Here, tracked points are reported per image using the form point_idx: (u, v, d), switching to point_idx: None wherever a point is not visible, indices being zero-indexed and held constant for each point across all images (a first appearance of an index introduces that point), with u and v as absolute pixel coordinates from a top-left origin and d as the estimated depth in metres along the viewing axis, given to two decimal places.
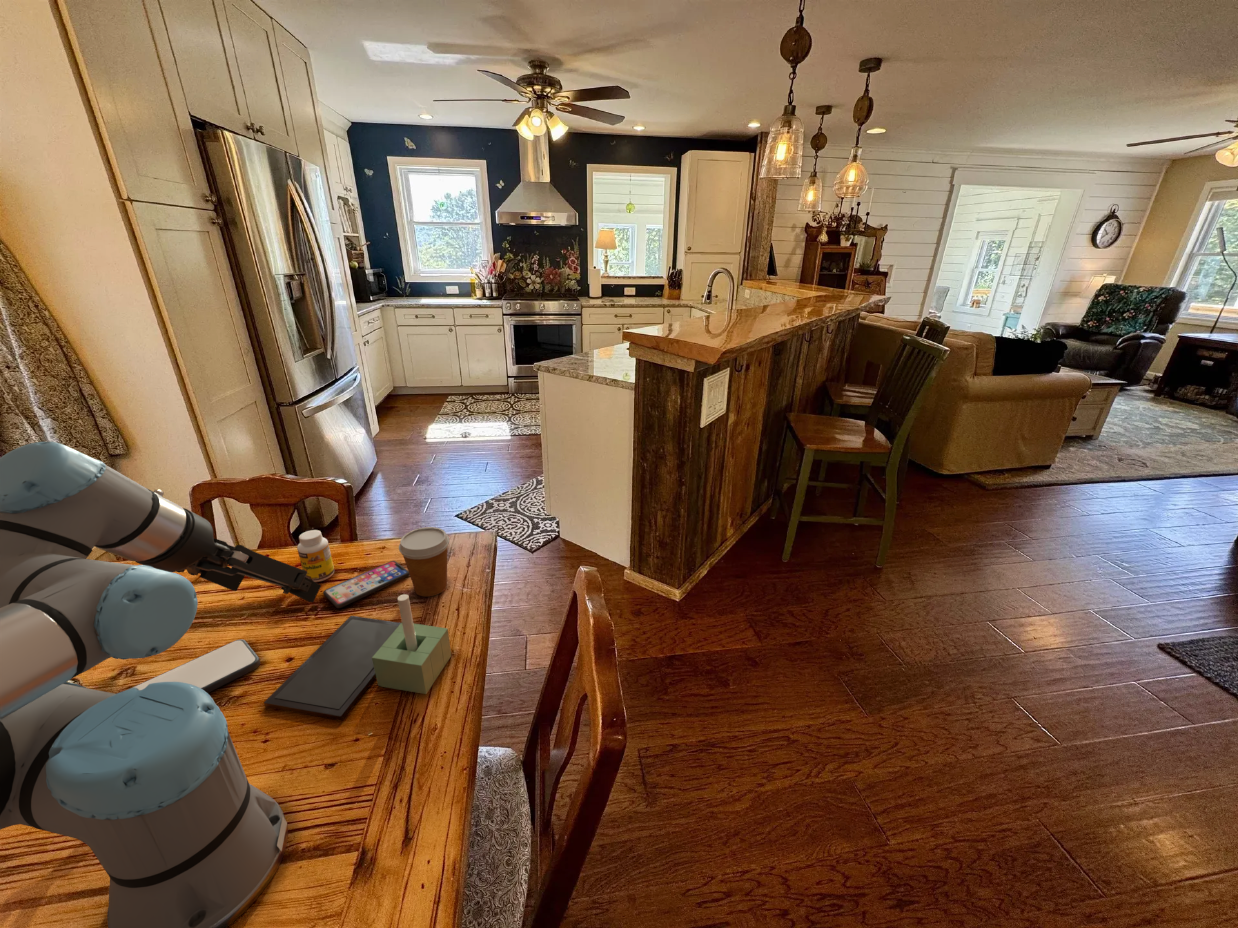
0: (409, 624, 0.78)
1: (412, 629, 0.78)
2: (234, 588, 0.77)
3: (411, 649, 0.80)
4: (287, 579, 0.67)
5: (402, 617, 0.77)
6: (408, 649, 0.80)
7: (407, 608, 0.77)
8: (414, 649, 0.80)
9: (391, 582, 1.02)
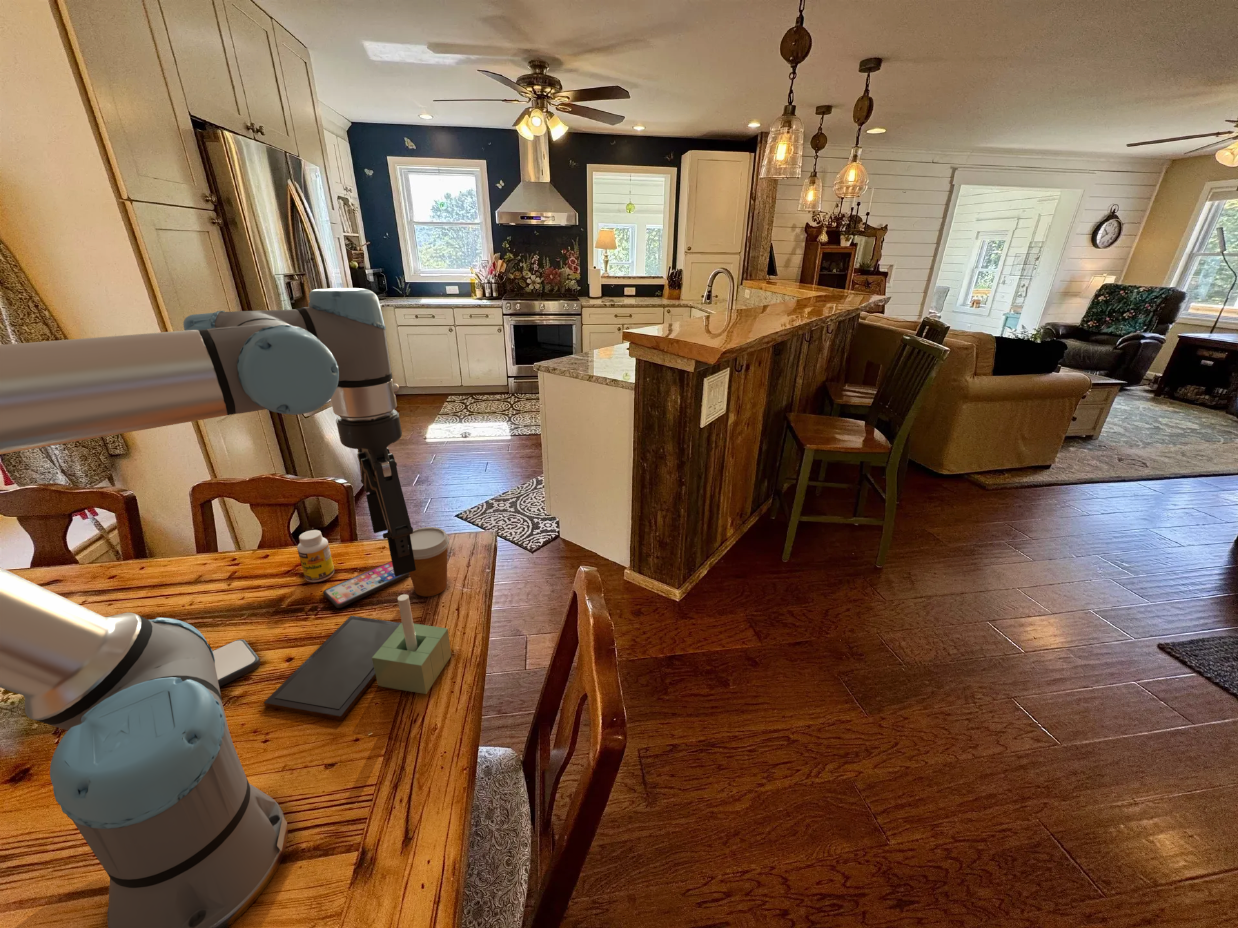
0: (409, 624, 0.78)
1: (412, 629, 0.78)
2: (375, 529, 0.77)
3: (411, 649, 0.80)
4: (393, 521, 0.62)
5: (402, 617, 0.77)
6: (408, 649, 0.80)
7: (407, 608, 0.77)
8: (414, 649, 0.80)
9: (391, 582, 1.02)
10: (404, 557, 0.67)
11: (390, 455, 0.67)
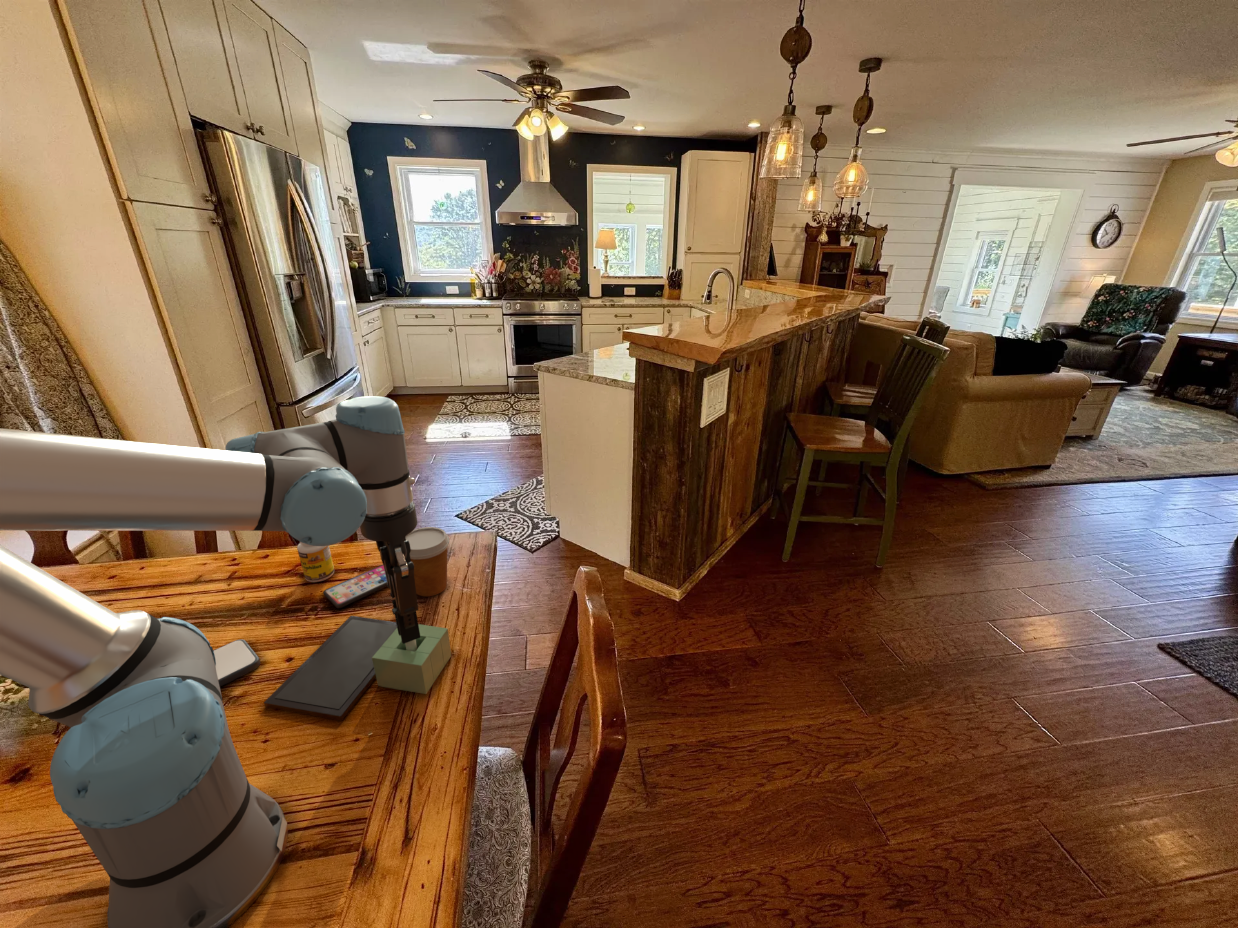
0: None
1: None
2: (399, 632, 0.79)
3: (410, 649, 0.79)
4: (404, 605, 0.72)
5: None
6: (407, 649, 0.79)
7: None
8: (413, 649, 0.80)
9: None
10: (410, 627, 0.77)
11: (407, 544, 0.72)
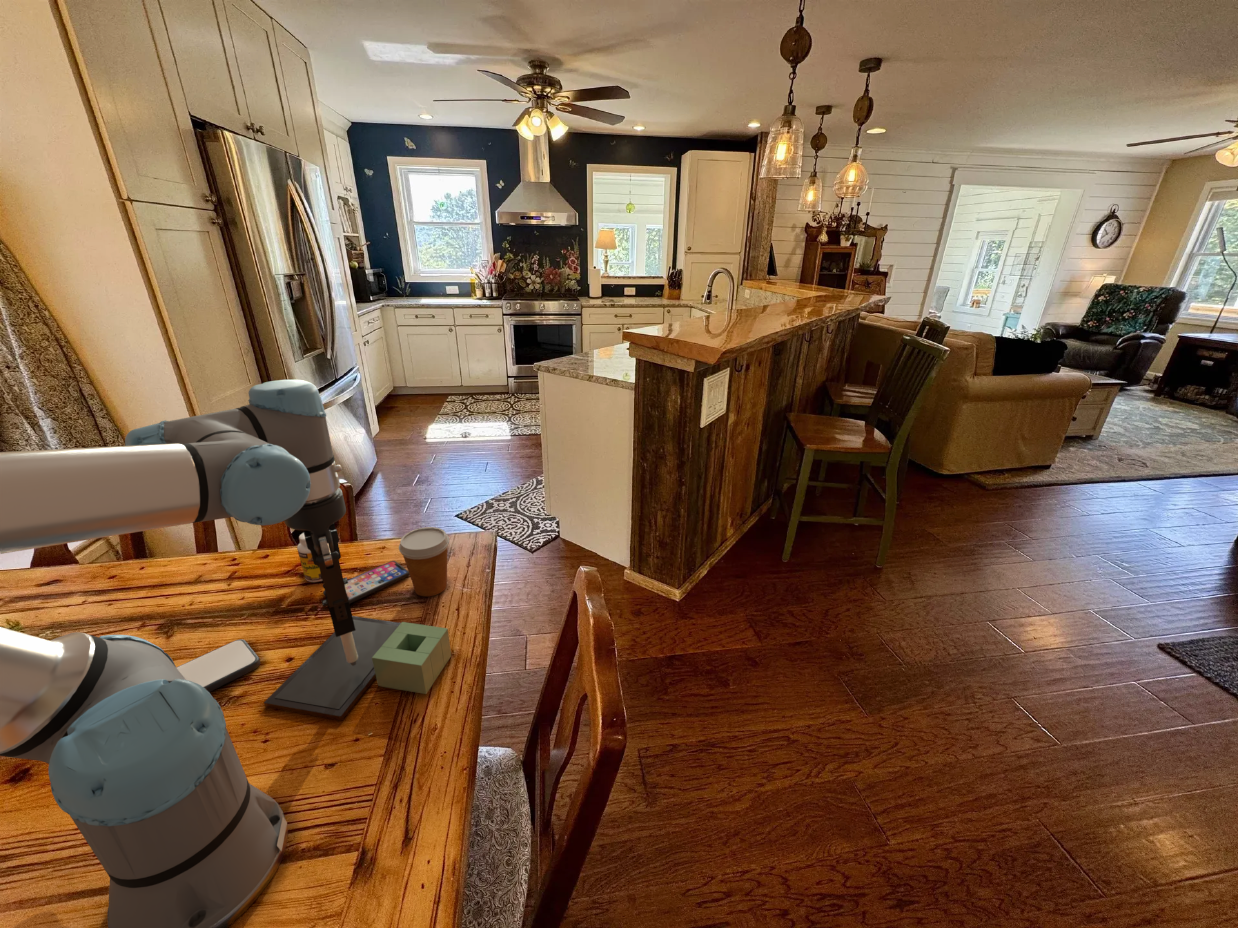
0: None
1: None
2: None
3: (346, 642, 0.77)
4: (331, 597, 0.69)
5: None
6: (343, 642, 0.77)
7: None
8: (349, 642, 0.77)
9: (391, 582, 1.02)
10: (344, 620, 0.75)
11: (334, 534, 0.70)
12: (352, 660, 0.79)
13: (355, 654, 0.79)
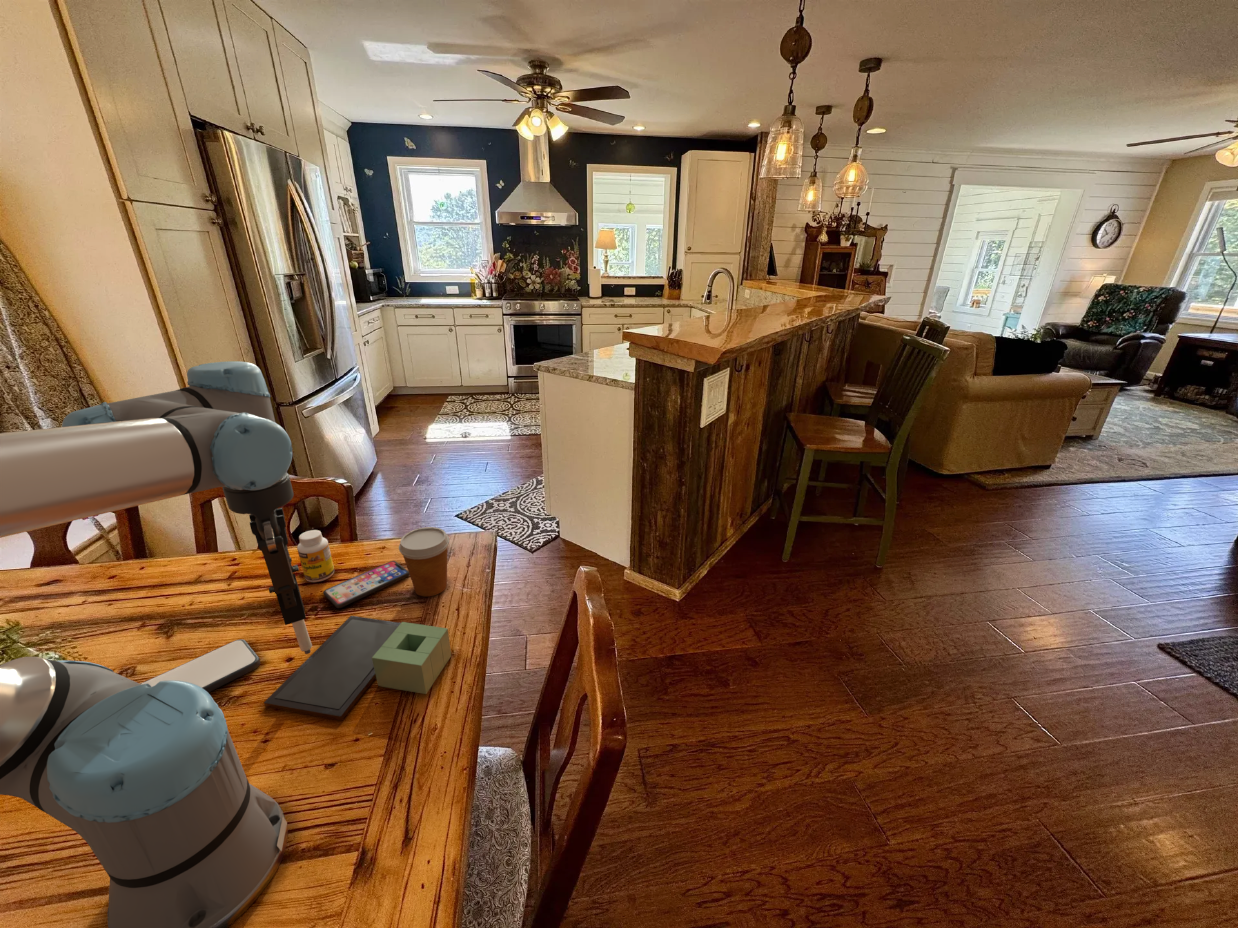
0: None
1: None
2: None
3: (298, 630, 0.76)
4: (277, 583, 0.69)
5: None
6: (295, 630, 0.76)
7: None
8: (301, 630, 0.77)
9: (391, 582, 1.02)
10: (293, 607, 0.74)
11: (281, 519, 0.69)
12: (305, 648, 0.78)
13: (308, 642, 0.78)
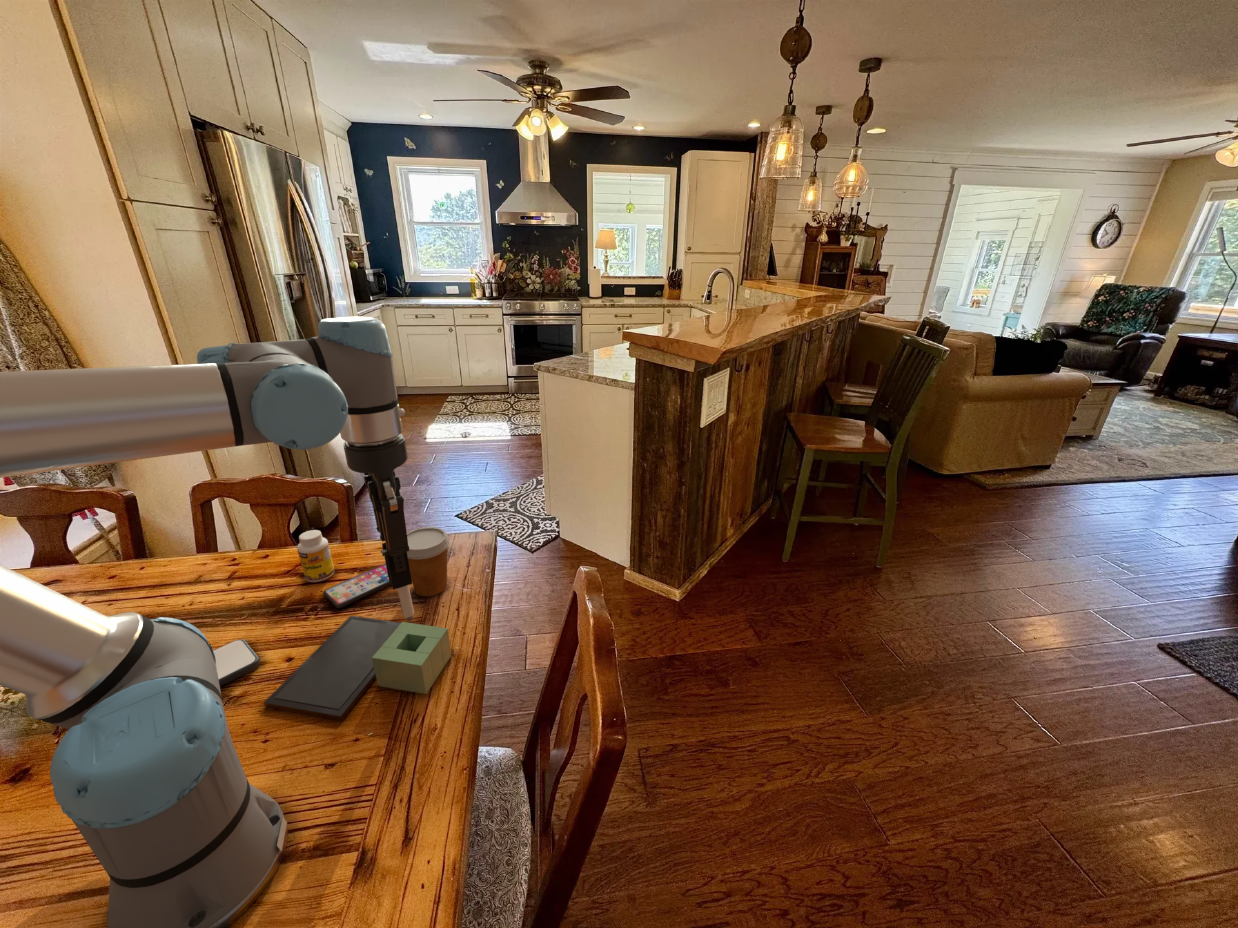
0: None
1: None
2: (390, 578, 0.75)
3: (403, 596, 0.76)
4: (393, 544, 0.68)
5: None
6: (400, 595, 0.76)
7: None
8: (406, 595, 0.76)
9: None
10: (401, 572, 0.73)
11: (396, 480, 0.68)
12: (409, 615, 0.77)
13: (412, 609, 0.77)
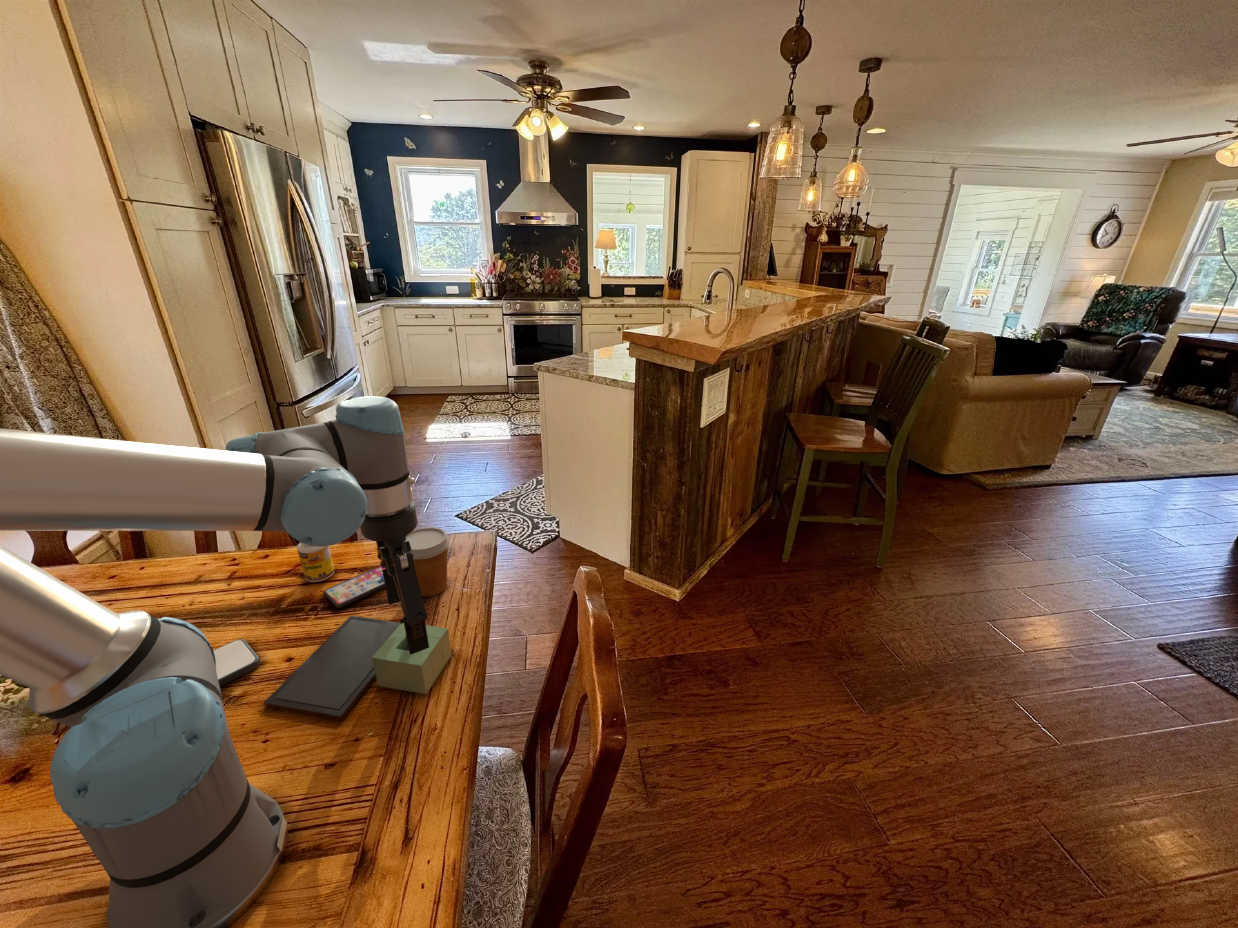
0: None
1: None
2: (390, 601, 0.82)
3: None
4: (410, 609, 0.67)
5: None
6: None
7: None
8: None
9: None
10: (418, 637, 0.72)
11: (406, 542, 0.72)
12: None
13: None
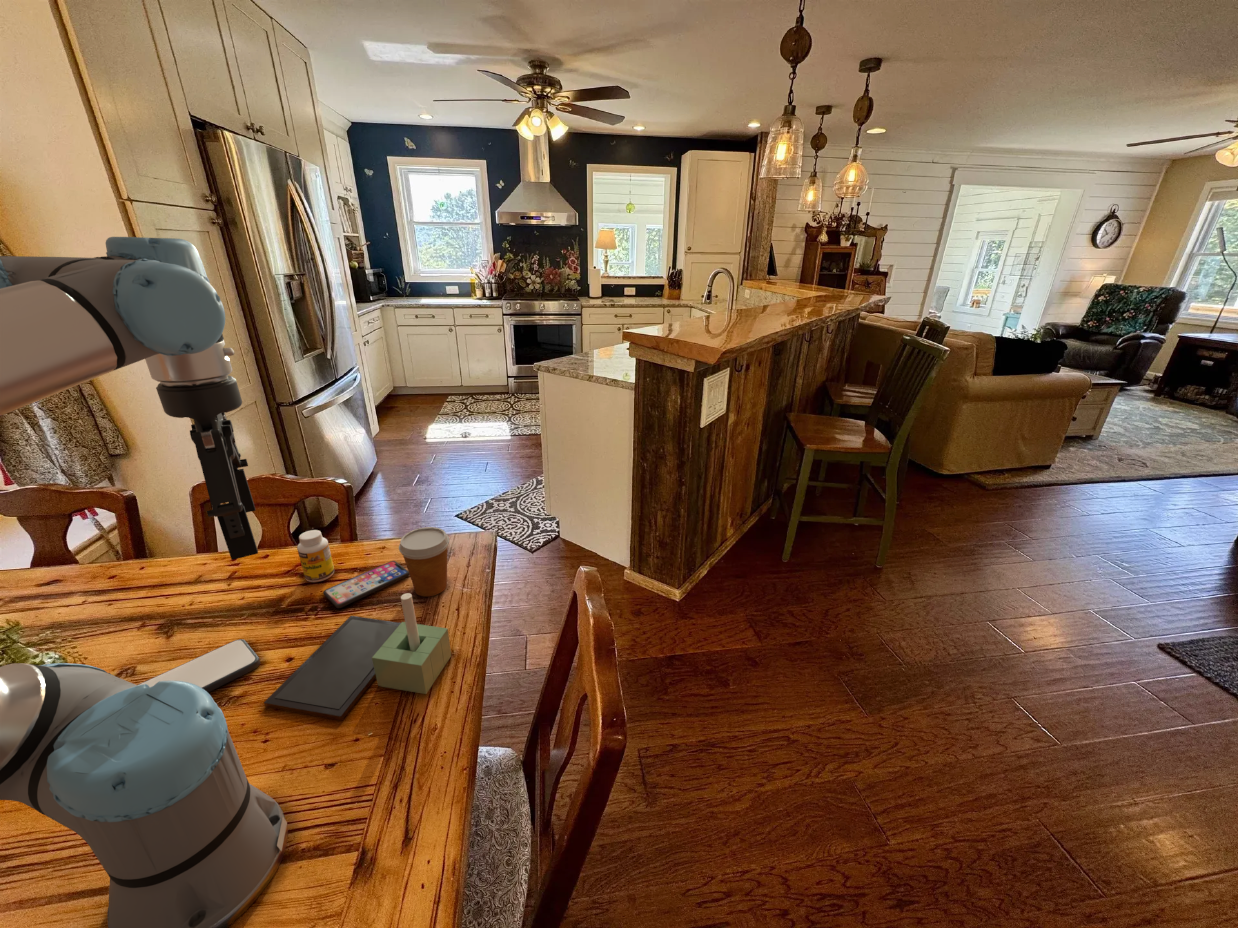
0: (412, 623, 0.78)
1: (415, 628, 0.79)
2: None
3: (414, 648, 0.80)
4: (215, 496, 0.56)
5: (405, 616, 0.77)
6: (411, 648, 0.80)
7: (410, 607, 0.77)
8: (417, 648, 0.80)
9: (391, 582, 1.02)
10: (241, 538, 0.61)
11: (226, 426, 0.61)
12: None
13: None
